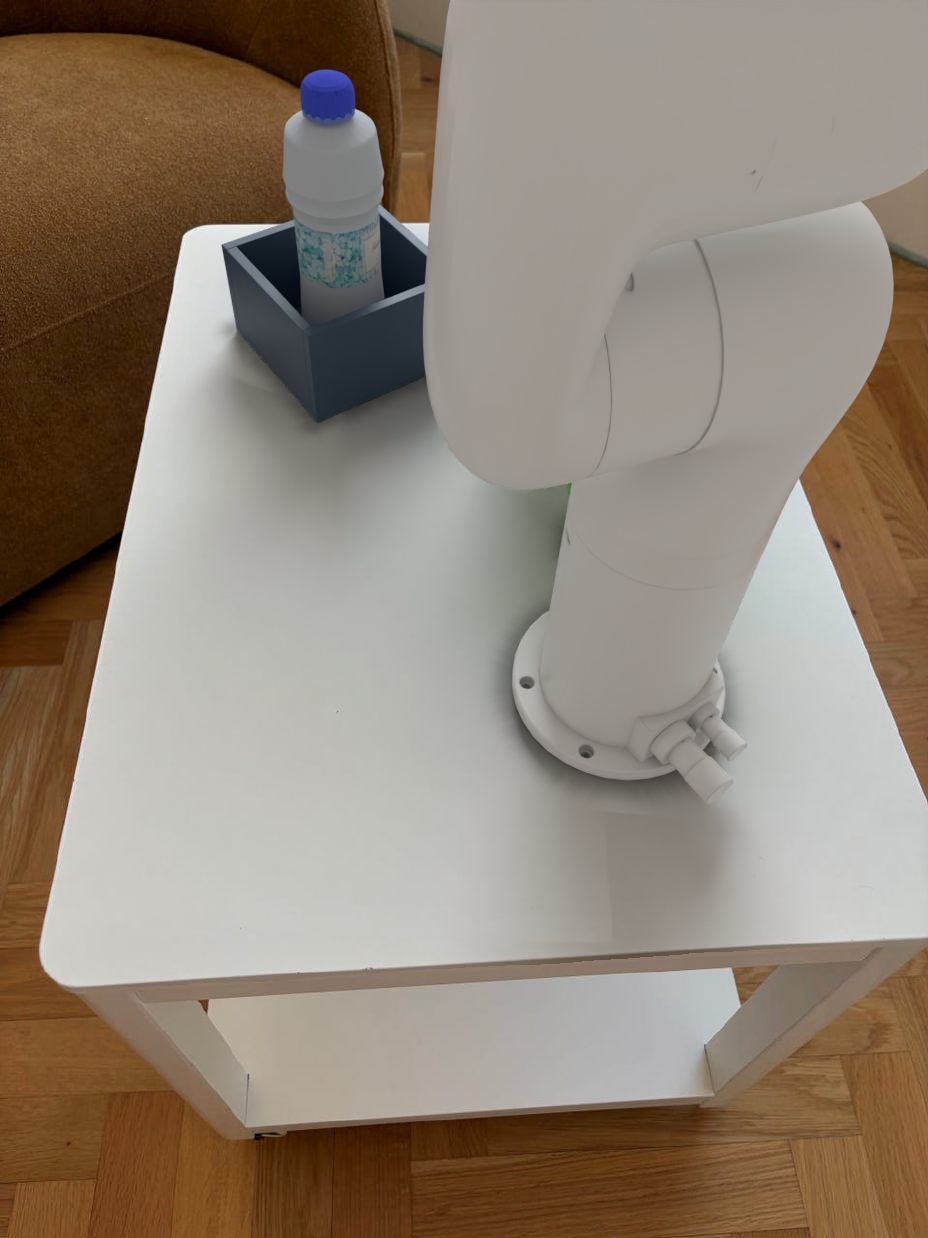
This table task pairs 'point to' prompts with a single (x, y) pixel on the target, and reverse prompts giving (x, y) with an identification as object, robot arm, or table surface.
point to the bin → (343, 347)
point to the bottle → (334, 198)
